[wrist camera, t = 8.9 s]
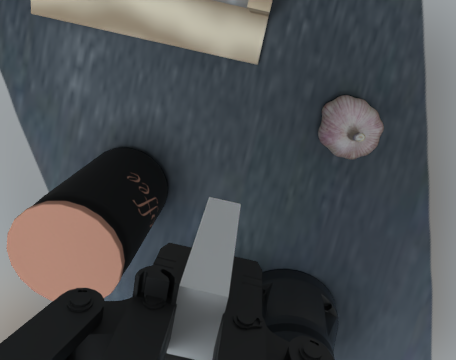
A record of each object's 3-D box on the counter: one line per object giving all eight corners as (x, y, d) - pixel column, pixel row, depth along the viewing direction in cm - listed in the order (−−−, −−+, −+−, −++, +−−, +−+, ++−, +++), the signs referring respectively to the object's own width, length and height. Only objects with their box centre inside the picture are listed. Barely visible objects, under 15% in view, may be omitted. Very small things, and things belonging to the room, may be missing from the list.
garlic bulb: (314, 95, 43) (324, 108, 36) (378, 88, 42) (403, 99, 35) (316, 156, 46) (326, 180, 39) (377, 151, 45) (400, 173, 38)
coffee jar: (167, 223, 51) (121, 314, 35) (93, 213, 52) (11, 297, 35) (172, 150, 47) (122, 213, 31) (91, 139, 48) (-2, 195, 31)
